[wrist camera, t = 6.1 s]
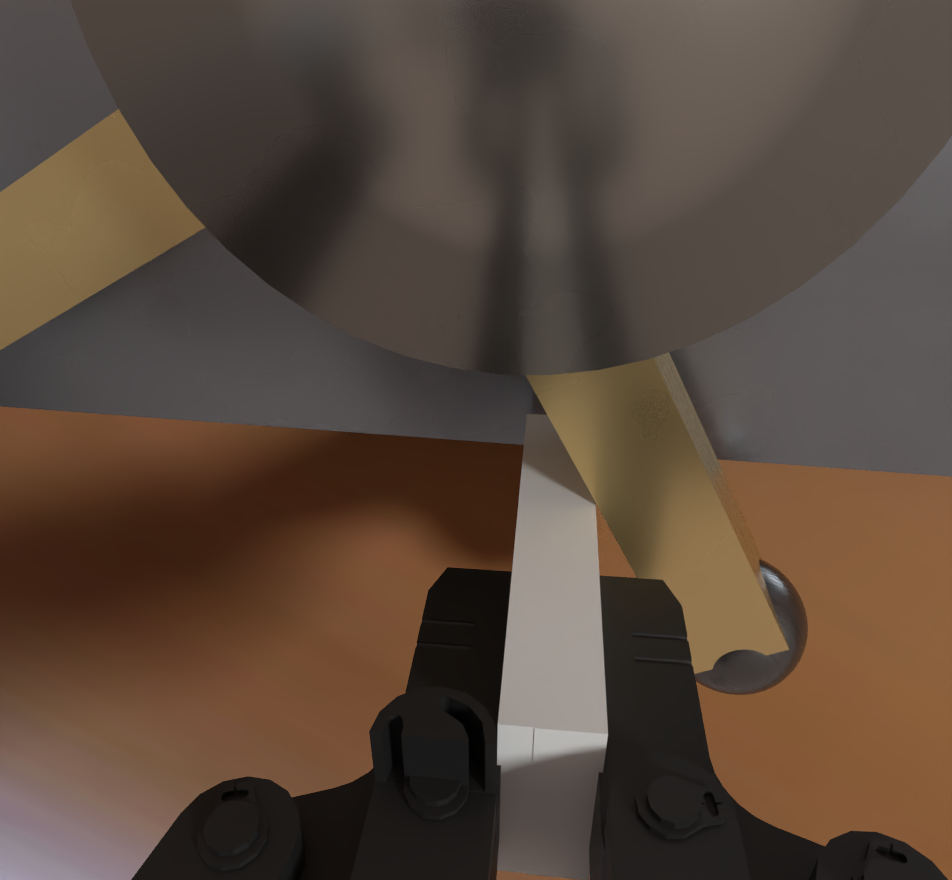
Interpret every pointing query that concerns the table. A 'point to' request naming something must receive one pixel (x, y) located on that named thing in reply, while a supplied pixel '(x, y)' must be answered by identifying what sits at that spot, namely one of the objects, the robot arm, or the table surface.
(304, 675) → the table surface
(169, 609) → the table surface
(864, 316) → the stand
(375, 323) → the capstan
